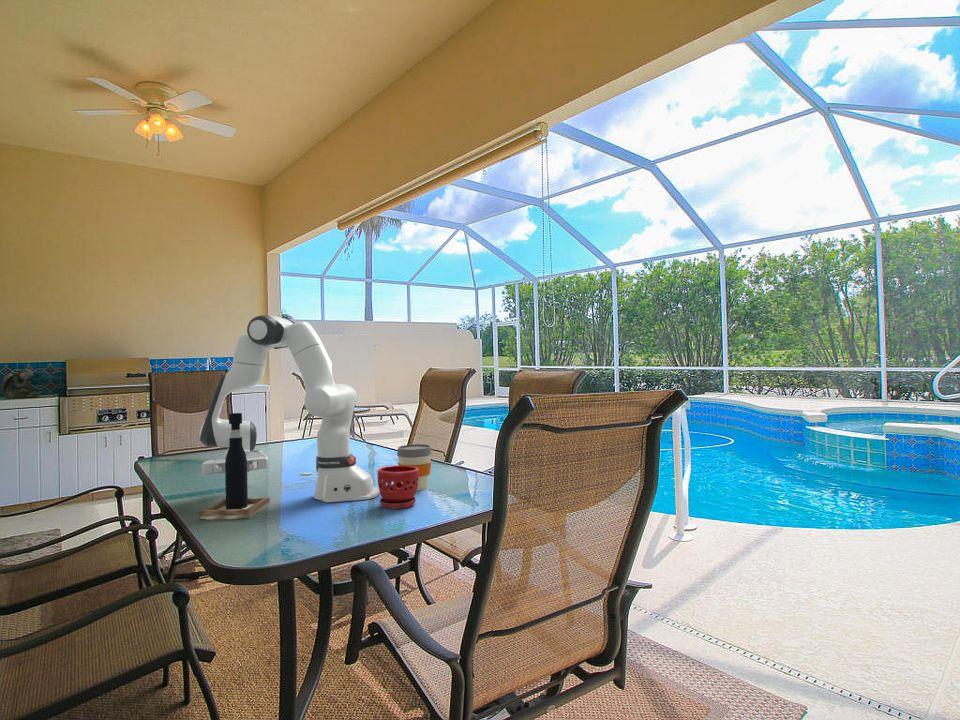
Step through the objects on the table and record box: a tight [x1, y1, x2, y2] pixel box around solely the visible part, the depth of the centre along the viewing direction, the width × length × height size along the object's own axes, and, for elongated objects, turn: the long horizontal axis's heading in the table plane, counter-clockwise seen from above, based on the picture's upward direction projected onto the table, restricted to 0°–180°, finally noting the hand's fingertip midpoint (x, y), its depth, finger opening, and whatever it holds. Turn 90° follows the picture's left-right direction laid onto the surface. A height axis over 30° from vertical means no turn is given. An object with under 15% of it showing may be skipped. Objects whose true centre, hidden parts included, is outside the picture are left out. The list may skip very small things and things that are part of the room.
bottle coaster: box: [199, 497, 271, 520], centre depth 166 cm, size 15×15×2 cm
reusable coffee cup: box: [396, 443, 433, 492], centre depth 192 cm, size 13×13×15 cm
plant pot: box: [377, 465, 419, 510], centre depth 169 cm, size 13×13×12 cm
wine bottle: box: [224, 412, 249, 509], centre depth 168 cm, size 6×6×30 cm
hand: (235, 468), depth 169 cm, fingers open, 8 cm apart
